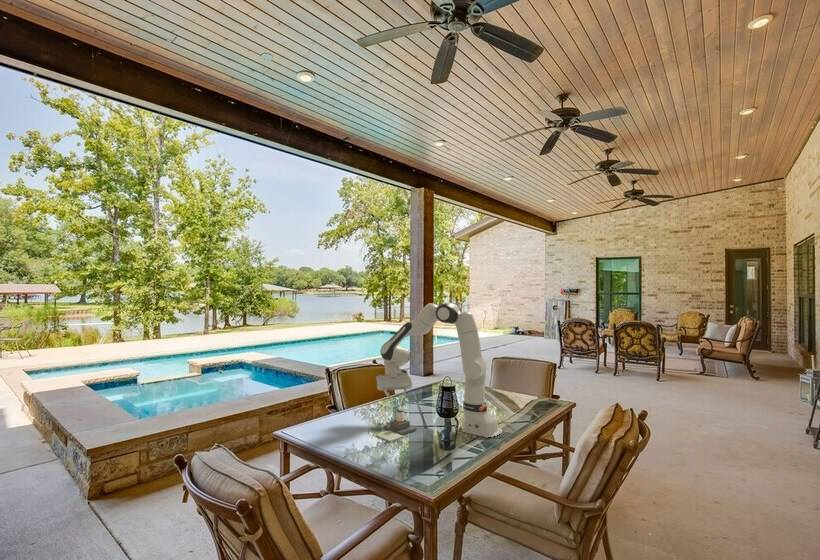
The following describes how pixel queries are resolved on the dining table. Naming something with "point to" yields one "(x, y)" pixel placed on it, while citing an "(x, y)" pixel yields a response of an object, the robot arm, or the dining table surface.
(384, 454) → the dining table surface
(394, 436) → the mat
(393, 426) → the socket
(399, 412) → the plug
